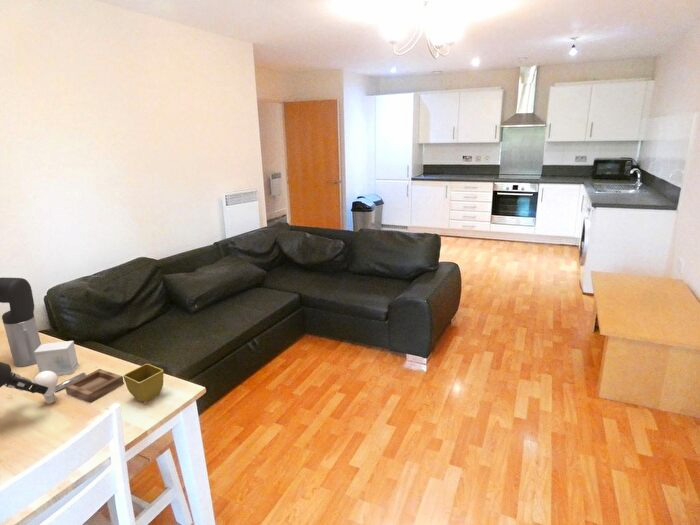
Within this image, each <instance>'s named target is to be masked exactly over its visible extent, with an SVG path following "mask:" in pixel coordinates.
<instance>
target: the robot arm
mask: <svg viewBox="0 0 700 525" xmlns="http://www.w3.org/2000/svg"><path fill="white" fill-rule="evenodd" d="M0 303H2V304H8V305H9V310H8V311H6V312H4V313H3V314H2V316H1V320H2V324H3V327H4V331H5V335H6V337H7V342H8V345H9V346H8V347H9V349H10V354H11V357H12V361H13V364H14V366H15V367H18V368H19V367H21V368H22V367H27V366H32V365H35V364H37V361H36V358H35V354H34V351H35V350H36V349H37V348H38V347H39V346H40V345H41V344H42V341H41V339H40V338H41V337H40V335H39V330H38V325H37V322H36V318H35V317H36V316H35V314H34V313H35V312H34V311H35V303H34V294H33V290H32V286H31V284H30V283H29V281H28V280H27V279H25V278H23V277H0ZM3 386H5V388H9V389H16V390H18V391H21V392H22V391H23V392H24V391H25V392H29V393H32V394H35V393H36V394H39V395H40V394H41V395H42V394H45V393H46V391H47V390H48V387H45V386H42V385H39V384H37V383H33V380H31V379H30V378H27V377H23V376H21V375H20V374H18V373H15V372H13V371H12V367H11V365H10V364H8V363H5V362H3V361H0V388H2V387H3Z"/></svg>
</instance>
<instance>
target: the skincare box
mask: <svg viewBox="0 0 700 525" xmlns="http://www.w3.org/2000/svg"><path fill="white" fill-rule="evenodd" d="M34 354H35V358H36V361H37V363H36V364H37V369H38V373H40V372H42V371H52V372H54V373H55V374H56V375H57V376H65V375H72V374H74V373H75V371H76V370H77V369H78V367H79V365H80V364H79V360H78V357H77V352H76V347H75V342H74V340H68V341H67V340H65V341H58V342H57V341H55V342H48V343H41V345H40V346H39V347H38V348H37V349H36V350H35V351H34Z"/></svg>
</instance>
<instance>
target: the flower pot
mask: <svg viewBox="0 0 700 525" xmlns="http://www.w3.org/2000/svg"><path fill="white" fill-rule="evenodd" d="M123 381H124V384H125V385H126V388H127V391H128V392H129V393H130V394H131V396H132V397H133V398H135V399H137V400H138V401H140V402H142V403H147V402H149V401H150V400H152V399H154V398H156V397H158V396H159V395H160V393H161V392H162V389H163V386H164V369H163V368H160V367H157V366H155V365H152V364H150V363H145V364H143V365H140V366H139V367H136V368H135V369H133V370H131V371H129V372H127V373H125V374H123Z"/></svg>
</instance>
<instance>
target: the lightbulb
mask: <svg viewBox="0 0 700 525" xmlns="http://www.w3.org/2000/svg"><path fill="white" fill-rule="evenodd" d="M32 382H33V383H37V384H39V385H42V386H45V387H48V390H47V391H46V393H45V394H41V395H42V396H43V398H44V400H45V401H44V402H45V403H46V404H52V403H54V402H55V401H56V399H57V398H56V396H55V393H56V392H55V387H56V386H57V385H58V383H59V378H58V375H56V374H55V373H54V372H52V371H42V372H40V373H39V372H38V373H37V374H36V375H35V377H33V380H32Z"/></svg>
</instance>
